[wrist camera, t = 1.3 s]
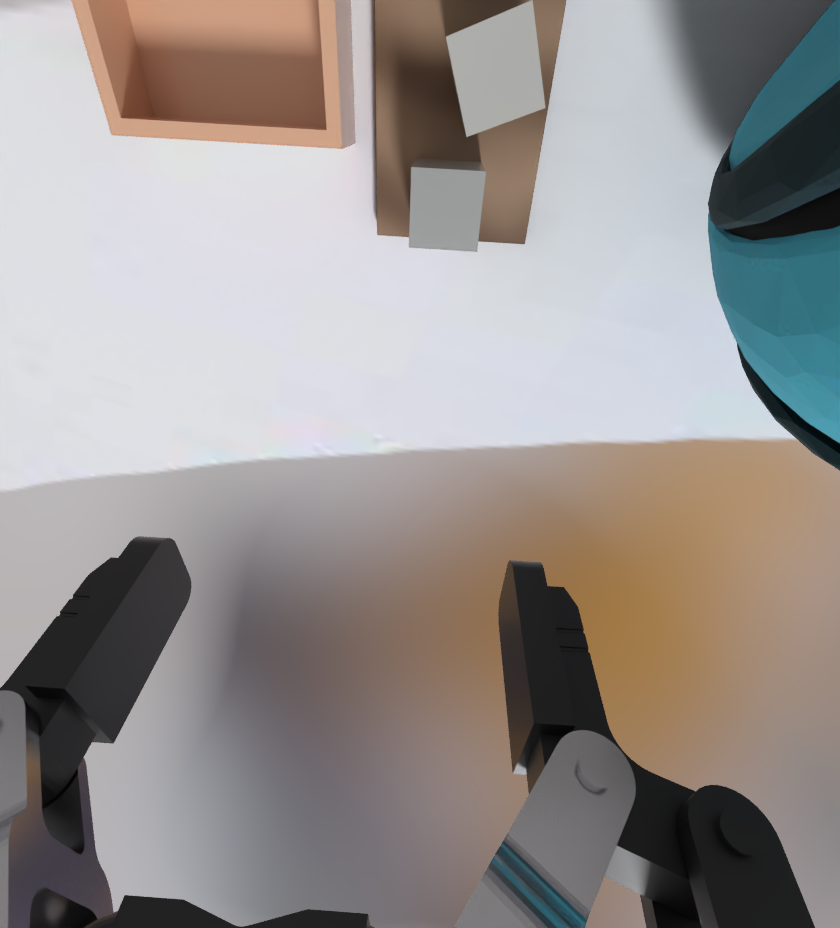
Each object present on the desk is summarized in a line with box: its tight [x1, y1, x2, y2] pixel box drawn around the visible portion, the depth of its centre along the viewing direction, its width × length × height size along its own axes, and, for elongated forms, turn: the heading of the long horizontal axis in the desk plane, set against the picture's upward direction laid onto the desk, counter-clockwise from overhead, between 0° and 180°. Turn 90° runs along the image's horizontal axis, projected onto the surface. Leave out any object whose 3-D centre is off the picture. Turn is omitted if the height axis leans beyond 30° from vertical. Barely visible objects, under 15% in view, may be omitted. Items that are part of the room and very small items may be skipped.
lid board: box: [375, 0, 566, 244], centre depth 27 cm, size 17×10×1 cm, turn 177°
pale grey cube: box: [446, 0, 545, 137], centre depth 24 cm, size 4×4×5 cm
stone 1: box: [409, 158, 486, 252], centre depth 28 cm, size 4×4×5 cm
